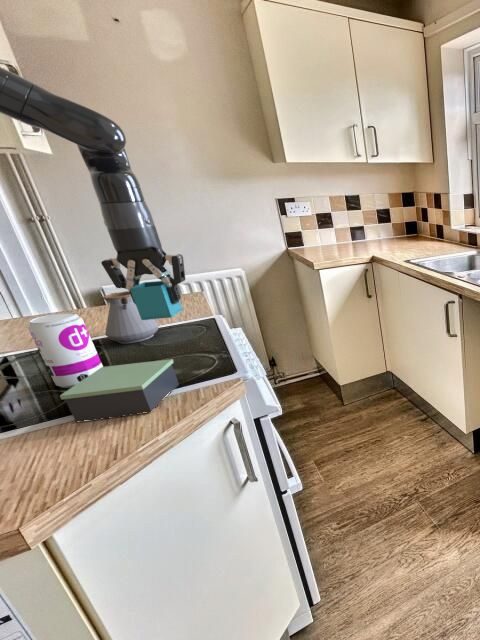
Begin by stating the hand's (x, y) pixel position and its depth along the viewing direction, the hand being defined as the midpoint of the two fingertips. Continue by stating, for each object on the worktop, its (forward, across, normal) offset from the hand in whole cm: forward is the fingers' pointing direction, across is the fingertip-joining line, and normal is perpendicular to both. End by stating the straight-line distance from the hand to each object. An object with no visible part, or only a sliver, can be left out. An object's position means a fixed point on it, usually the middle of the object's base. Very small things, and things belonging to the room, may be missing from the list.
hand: (158, 304), depth 92 cm
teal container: (+2, 0, 0) cm, 2 cm away
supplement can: (+16, +20, -1) cm, 26 cm away
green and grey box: (+16, +4, +14) cm, 22 cm away
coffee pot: (+16, +20, -24) cm, 35 cm away
